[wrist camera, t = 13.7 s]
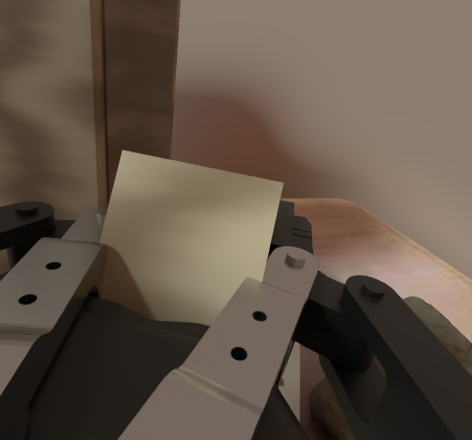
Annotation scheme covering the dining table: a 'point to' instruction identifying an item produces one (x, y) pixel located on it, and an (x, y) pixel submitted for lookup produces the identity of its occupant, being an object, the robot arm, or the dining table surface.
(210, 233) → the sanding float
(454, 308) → the dining table surface
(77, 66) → the zigzag patterned tall block
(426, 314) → the marble piece
